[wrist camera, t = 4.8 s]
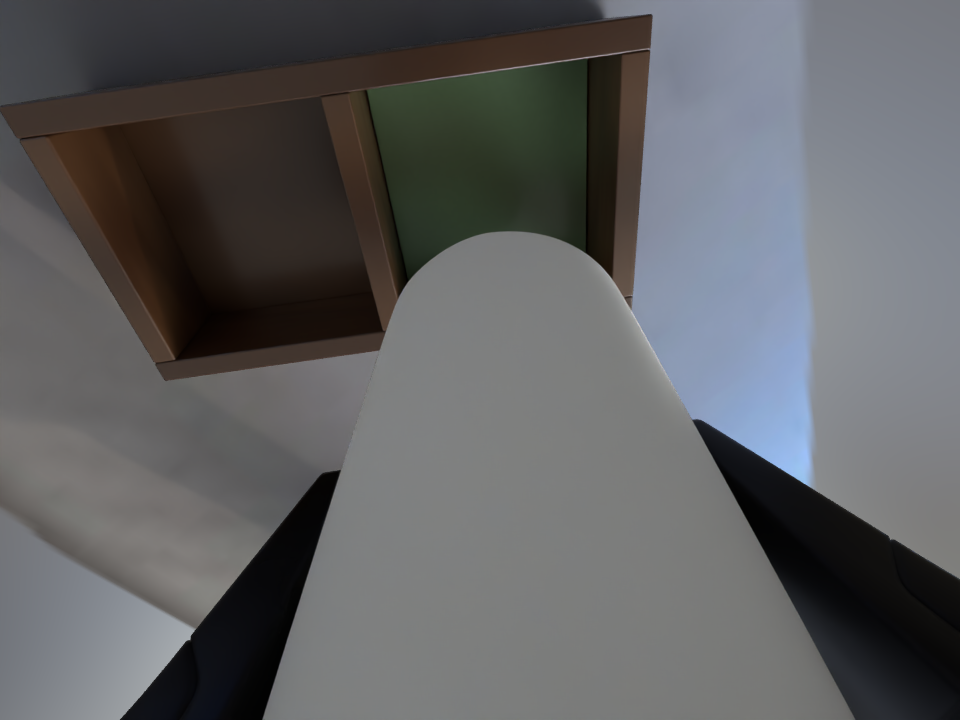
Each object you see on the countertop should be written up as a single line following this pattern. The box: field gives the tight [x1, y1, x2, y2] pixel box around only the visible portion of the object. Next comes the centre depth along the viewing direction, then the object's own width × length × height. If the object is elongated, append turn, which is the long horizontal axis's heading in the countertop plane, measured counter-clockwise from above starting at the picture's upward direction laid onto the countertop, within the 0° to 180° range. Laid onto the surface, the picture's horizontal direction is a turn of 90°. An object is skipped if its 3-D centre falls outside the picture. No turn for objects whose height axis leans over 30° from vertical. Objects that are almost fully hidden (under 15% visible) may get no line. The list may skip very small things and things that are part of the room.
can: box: [262, 231, 855, 720], centre depth 8 cm, size 6×6×12 cm
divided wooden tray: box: [0, 14, 653, 381], centre depth 17 cm, size 9×17×4 cm, turn 97°
